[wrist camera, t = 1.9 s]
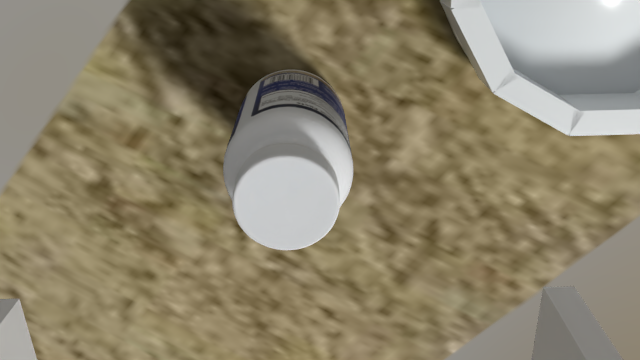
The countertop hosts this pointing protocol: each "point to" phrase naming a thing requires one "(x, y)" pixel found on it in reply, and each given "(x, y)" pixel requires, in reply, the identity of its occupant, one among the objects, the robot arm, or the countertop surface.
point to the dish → (557, 59)
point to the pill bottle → (288, 160)
